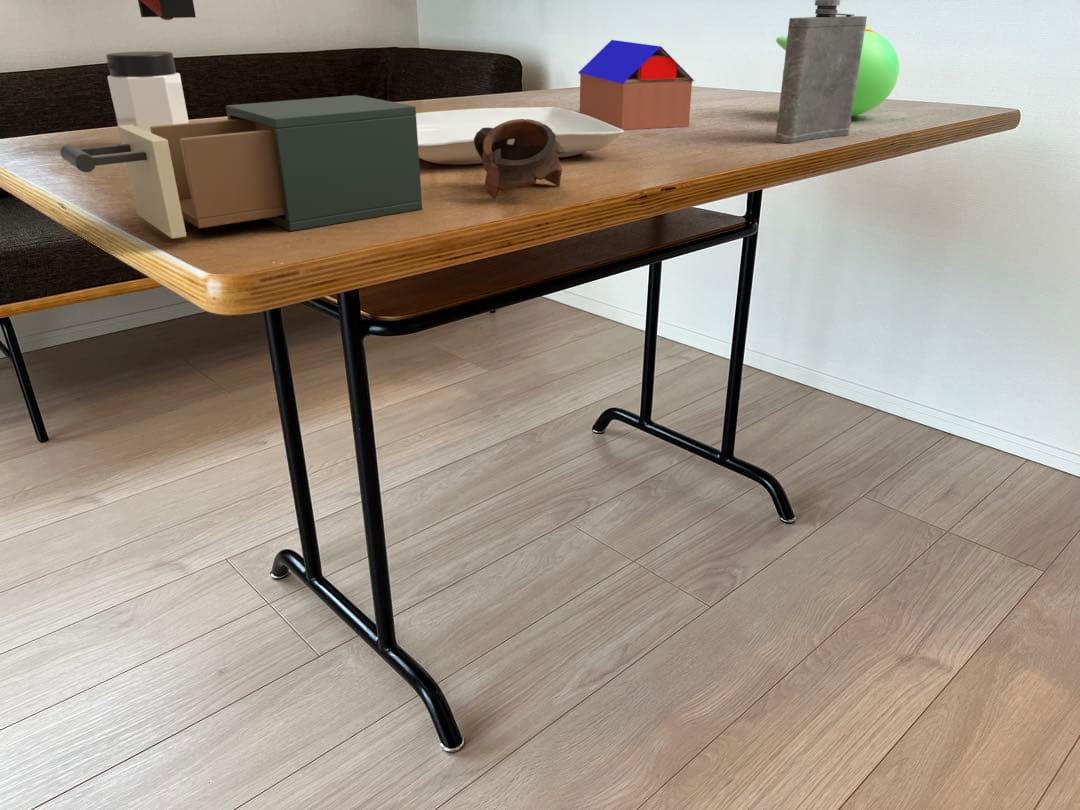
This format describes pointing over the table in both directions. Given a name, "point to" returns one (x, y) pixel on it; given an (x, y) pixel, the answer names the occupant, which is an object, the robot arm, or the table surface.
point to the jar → (146, 89)
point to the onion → (155, 7)
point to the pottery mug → (518, 155)
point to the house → (635, 87)
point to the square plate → (455, 130)
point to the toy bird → (871, 71)
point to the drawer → (194, 172)
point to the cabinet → (341, 157)
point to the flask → (820, 74)
